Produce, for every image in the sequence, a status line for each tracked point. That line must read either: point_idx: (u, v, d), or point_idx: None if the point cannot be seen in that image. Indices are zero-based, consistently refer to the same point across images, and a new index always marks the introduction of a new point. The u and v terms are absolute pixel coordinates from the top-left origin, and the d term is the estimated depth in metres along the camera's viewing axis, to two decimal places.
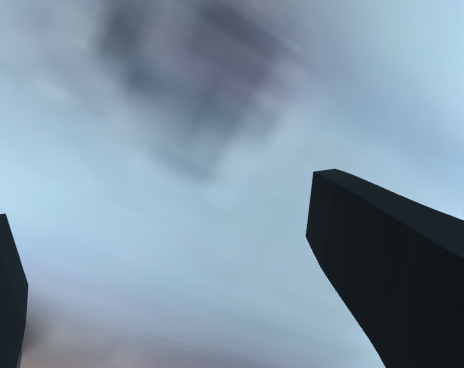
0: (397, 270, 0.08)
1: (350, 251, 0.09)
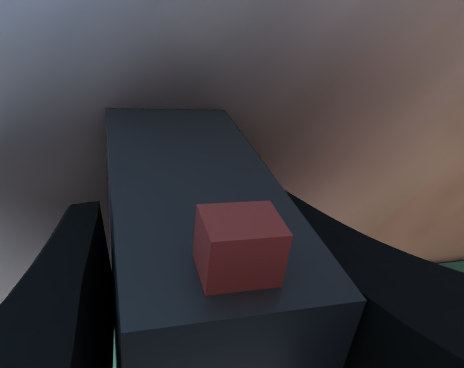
0: None
1: None
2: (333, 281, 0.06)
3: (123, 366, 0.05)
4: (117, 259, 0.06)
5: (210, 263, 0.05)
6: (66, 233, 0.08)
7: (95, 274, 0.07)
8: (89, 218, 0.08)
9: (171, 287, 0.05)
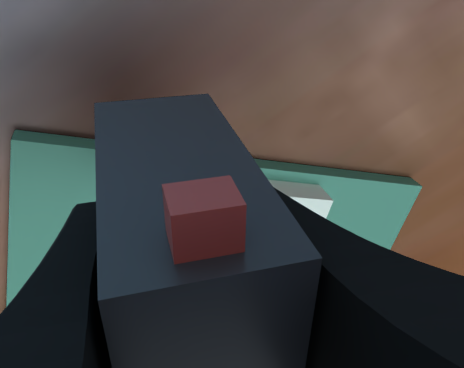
0: None
1: None
2: (293, 243, 0.06)
3: (105, 329, 0.05)
4: (97, 239, 0.06)
5: (173, 235, 0.05)
6: (73, 232, 0.08)
7: None
8: None
9: (144, 260, 0.06)
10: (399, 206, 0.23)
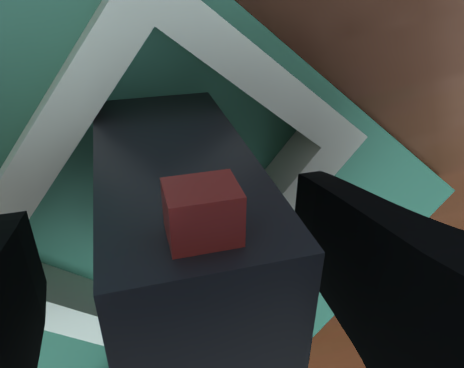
0: (378, 274, 0.08)
1: (334, 254, 0.09)
2: (295, 238, 0.06)
3: (101, 326, 0.05)
4: (94, 234, 0.06)
5: (170, 229, 0.05)
6: None
7: (4, 290, 0.07)
8: (6, 230, 0.08)
9: (141, 254, 0.06)
10: (417, 208, 0.16)
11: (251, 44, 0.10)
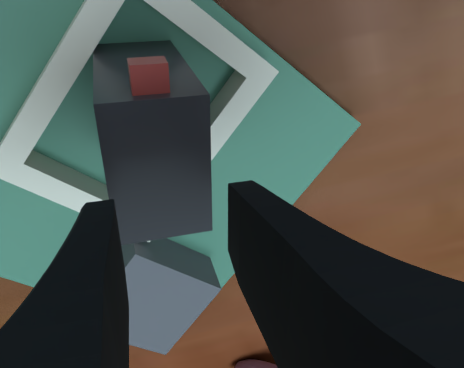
0: (288, 292, 0.07)
1: (256, 269, 0.09)
2: (197, 90, 0.12)
3: (97, 123, 0.11)
4: (93, 89, 0.12)
5: (130, 77, 0.11)
6: (84, 230, 0.08)
7: (113, 271, 0.08)
8: (106, 216, 0.08)
9: (117, 94, 0.11)
10: (333, 137, 0.22)
11: (193, 3, 0.15)
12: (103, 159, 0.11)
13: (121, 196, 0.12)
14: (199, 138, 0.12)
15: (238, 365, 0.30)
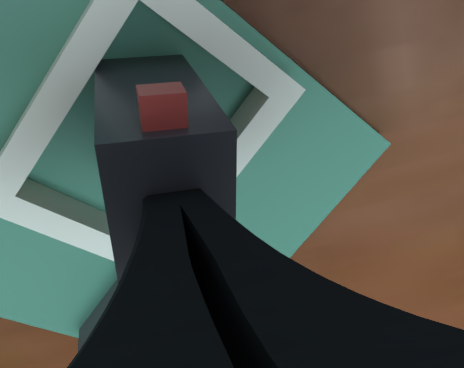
0: (217, 307, 0.07)
1: None
2: (220, 124, 0.10)
3: (98, 167, 0.09)
4: (95, 122, 0.10)
5: (140, 110, 0.09)
6: (156, 219, 0.08)
7: None
8: (173, 206, 0.09)
9: (124, 130, 0.09)
10: (359, 158, 0.20)
11: (210, 14, 0.13)
12: (106, 209, 0.09)
13: (127, 250, 0.10)
14: (222, 181, 0.10)
15: None
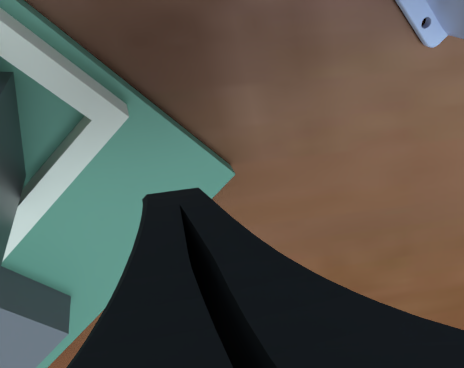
0: (216, 307, 0.07)
1: None
2: None
3: None
4: None
5: None
6: (156, 219, 0.08)
7: None
8: (172, 206, 0.09)
9: None
10: (205, 184, 0.21)
11: (24, 39, 0.14)
12: None
13: None
14: None
15: None
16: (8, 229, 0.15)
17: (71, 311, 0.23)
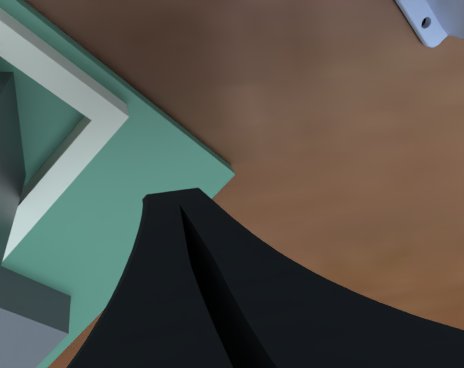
0: (216, 307, 0.07)
1: None
2: None
3: None
4: None
5: None
6: (156, 219, 0.08)
7: None
8: (172, 206, 0.09)
9: None
10: (205, 184, 0.21)
11: (24, 39, 0.14)
12: None
13: None
14: None
15: None
16: (8, 229, 0.15)
17: (71, 311, 0.23)
